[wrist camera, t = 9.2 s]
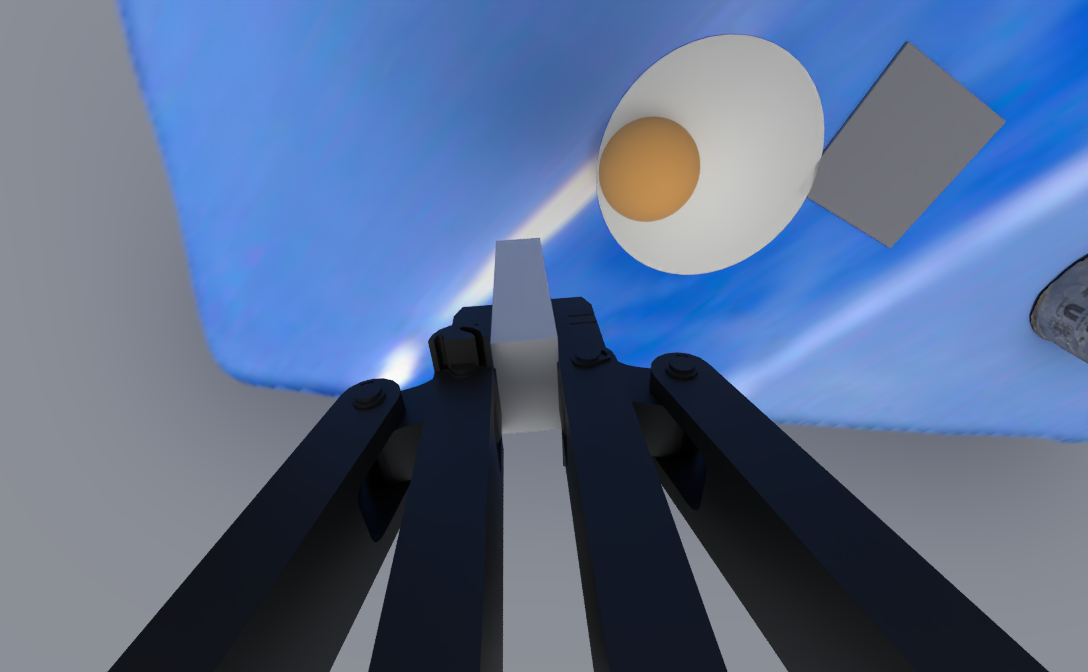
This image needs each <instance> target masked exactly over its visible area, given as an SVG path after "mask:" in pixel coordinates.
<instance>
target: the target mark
mask: <svg viewBox="0 0 1088 672" xmlns="http://www.w3.org/2000/svg"><path fill="white" fill-rule="evenodd" d="M654 116H655V117H663V118H667V119H670V120H672V121H675V122H676V123H678V124H680V125H681V126H682V127H683V128H685V129H686V130H687V131H688V133H689V134H690V135H691V136H692V138H693V139H694V141H695V143H696V145H697V148H698V151H699V156H700V175H699V180H698V183H697V186H696V188H695V190H694V192H693V194H692V195H691V197H690V199H689V200H688V201H687V202H686V204H684V205H683V206H682V207H681V208H680V209H679V210H678V211H677V212H675V213H674V214H672V215H670V216H668V217H666V218H664V219H661V220H657V221H651V222H640V221H635V220H631V219H628V218H626V217H624V216H622V215H621V214H619V213H618V212H616V211H615V210H614V209H613V208H612V207H611V206H610V205H609V203H608V202H607V200H606V199H605V197H604V195H603V193H602V190H601V186H600V182H599V165H600V159H601V156H602V153H603V151H604V148H605V147H606V145H607V143H608V142H609V140H610V139H611V137H612V136H613V135H614V134H615V133H616V132H617V131H618V130H619V129H620V128H622V127H623V126H624V125H626V124H628V123H630V122H632V121H634V120H637V119H639V118H644V117H654ZM823 145H824V115H823V110H822V105H821V100H820V97H819V95H818V92H817V89H816V86H815V84H814V83H813V81H812V79H811V77H810V75H809V74H808V72H807V71H806V70H805V68H804V67H803V66H802V65H801V63H800V62H799V61H798V60H797V59H796V58H795V57H793V56H792V55H791V54H790V53H789V52H788V51H786V50H785V49H783V48H781V47H780V46H778V45H776V44H775V43H772V42H770V41H767V40H764V39H762V38H758V37H753V36H748V35H728V34H727V35H719V36H712V37H707V38H704V39H700V40H697V41H693V42H691V43H689V44H686V45H684V46H682V47H680V48H677V49H675V50H674V51H672V52H671V53H669V54H667V55H666V56H664V57H663V58H661V59H660V60H658V61H657V62H656V63H655V64H653V65H652V66H651V67H650V68H648V69H647V70H646V71H645V72H644V73H643V74H642V75H641V76H640V77H639V78H638V79H637V80H636V81H635V82H634V83H633V84H632V86H631V87H630V88H629V90H628V91H627V92H626V94H625V95H624V96H623V97H622V99H621V101H620V102H619V104H618V106H617V107H616V109H615V111H614V112H613V114H612V116H611V119H610V121H609V123H608V125H607V127H606V130H605V133H604V136H603V139H602V142H601V145H600V150H599V155H598V160H597V173H596V183H597V195H598V200H599V205H600V209H601V212H602V215H603V218H604V220H605V222H606V224H607V226H608V228H609V230H610V232H611V233H612V235H613V236H614V238H615V239H616V241H617V242H618V243H619V244H620V245H621V247H622V248H623V249H624V250H625V251H626V252H627V253H629V254H630V255H631V256H632V257H634V258H635V259H636V260H638V261H640V262H641V263H643V264H645V265H647V266H649V267H651V268H654V269H656V270H659V271H663V272H667V273H673V274H682V275H688V274H702V273H709V272H713V271H717V270H721V269H724V268H726V267H729V266H732V265H734V264H736V263H738V262H740V261H742V260H744V259H746V258H748V257H750V256H751V255H753V254H754V253H756V252H758V251H759V250H761V249H762V248H763V247H764V246H766V245H767V244H768V243H769V242H771V241H772V240H773V239H774V238H775V237H776V236H777V235H778V234H779V233H780V232H781V231H782V230H783V229H784V228H785V227H786V226H787V225H788V223H789V222H790V221H791V220H792V219H793V217H794V216H795V214H796V213H797V212H798V210H799V209H800V207H801V206H802V204H803V202H804V201H805V199H806V197H807V196H806V195H808V193H809V192H810V189H811V188H810V187H812V185H813V183H811V182H812V181H813V182H814V180H813V179H814V178H813V177H815V178H816V176H814V175H817V174H814V172H815V170H818V168H817V165H816V164H817V163H818V164H819V165H820V161H819V160H821V159H820V158H821V156H822V151H823ZM818 167H819V166H818ZM814 168H815V169H814ZM816 168H817V169H816ZM812 170H813V171H812ZM811 172H812V173H811ZM810 173H811V174H810ZM816 173H817V171H816ZM806 177H807V178H806ZM808 180H809V181H808ZM802 185H803V186H802Z"/></svg>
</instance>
